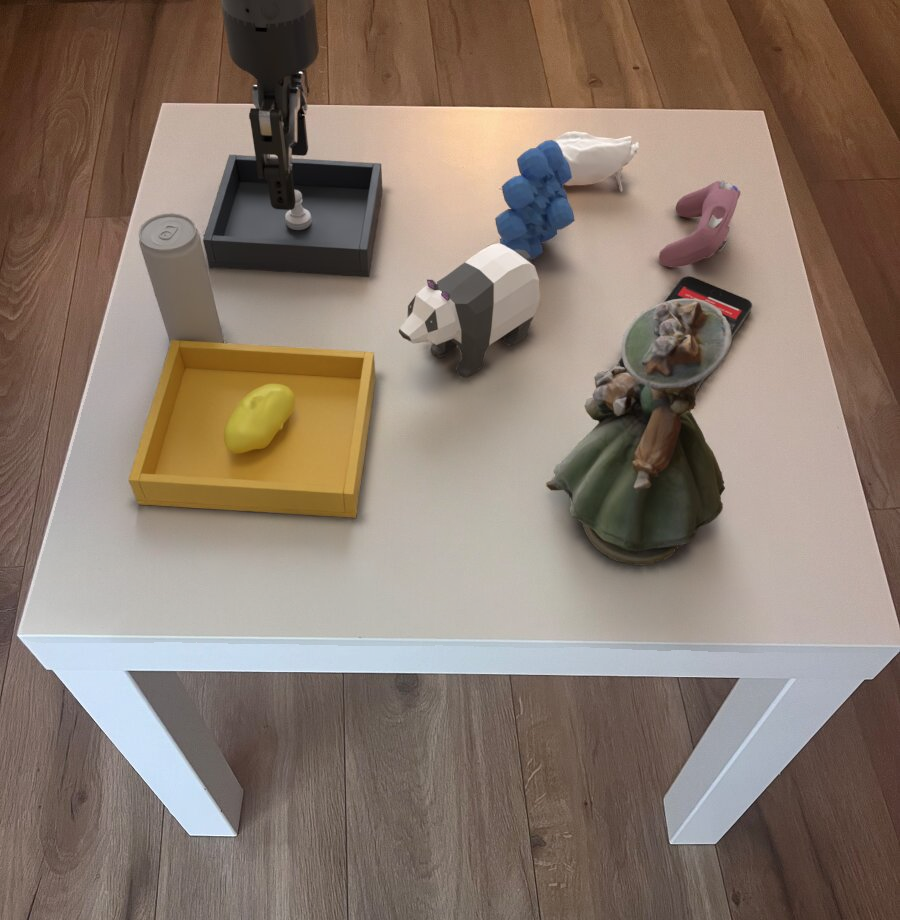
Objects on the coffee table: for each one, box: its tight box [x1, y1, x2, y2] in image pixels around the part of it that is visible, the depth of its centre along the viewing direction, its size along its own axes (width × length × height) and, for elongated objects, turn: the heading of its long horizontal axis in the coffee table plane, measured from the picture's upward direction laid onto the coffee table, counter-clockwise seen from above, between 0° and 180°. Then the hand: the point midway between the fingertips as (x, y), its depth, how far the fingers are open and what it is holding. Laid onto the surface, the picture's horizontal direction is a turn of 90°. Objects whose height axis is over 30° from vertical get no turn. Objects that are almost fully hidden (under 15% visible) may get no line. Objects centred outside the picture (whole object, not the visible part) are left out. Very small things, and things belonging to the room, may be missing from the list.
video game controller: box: [658, 178, 741, 268], centre depth 90 cm, size 10×5×7 cm, turn 161°
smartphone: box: [617, 275, 753, 393], centre depth 85 cm, size 7×1×15 cm
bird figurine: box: [554, 130, 640, 193], centre depth 95 cm, size 5×7×10 cm
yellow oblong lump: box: [224, 384, 295, 454], centre depth 75 cm, size 4×8×4 cm, turn 145°
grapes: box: [494, 139, 576, 261], centre depth 85 cm, size 12×7×12 cm, turn 147°
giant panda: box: [398, 242, 540, 379], centre depth 79 cm, size 15×6×10 cm, turn 133°
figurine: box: [545, 298, 733, 566], centre depth 67 cm, size 14×14×20 cm
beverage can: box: [137, 213, 224, 345], centre depth 78 cm, size 5×5×12 cm
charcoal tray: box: [202, 154, 383, 278], centre depth 91 cm, size 16×14×3 cm
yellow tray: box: [127, 340, 376, 519], centre depth 76 cm, size 18×16×3 cm
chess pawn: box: [285, 190, 312, 230], centre depth 90 cm, size 3×3×4 cm
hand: (290, 179), depth 88 cm, fingers open, 8 cm apart
